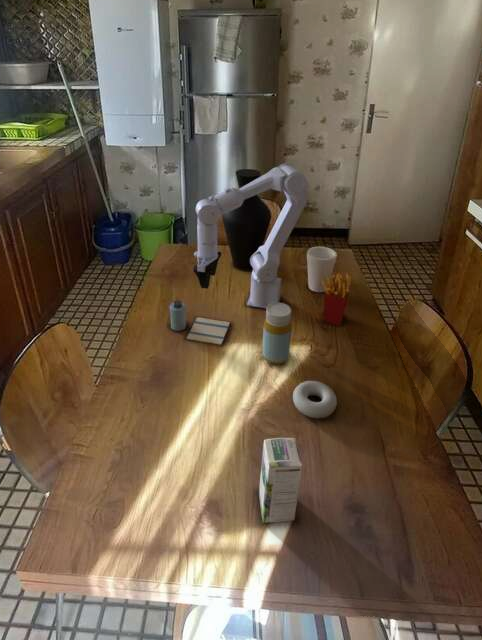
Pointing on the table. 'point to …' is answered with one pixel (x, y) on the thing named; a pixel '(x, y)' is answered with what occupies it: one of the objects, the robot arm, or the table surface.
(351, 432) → the table surface
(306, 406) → the donut
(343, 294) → the french fries
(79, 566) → the table surface
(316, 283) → the foam cup
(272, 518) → the syrup box
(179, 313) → the pepper shaker
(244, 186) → the robot arm
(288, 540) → the table surface
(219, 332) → the dish cloth
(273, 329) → the bottle
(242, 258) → the vase
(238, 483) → the table surface
